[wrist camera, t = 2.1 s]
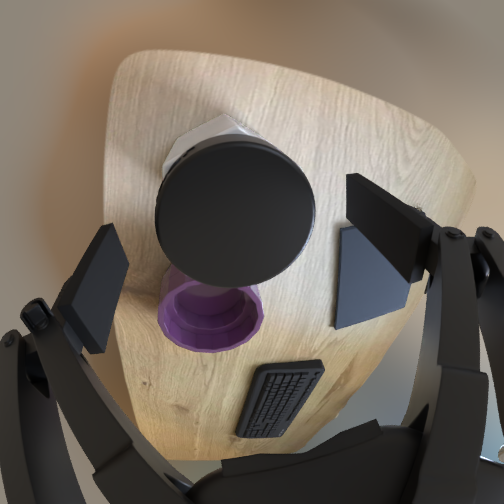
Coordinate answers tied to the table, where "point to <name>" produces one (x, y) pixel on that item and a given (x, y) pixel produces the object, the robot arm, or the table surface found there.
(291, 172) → the jar
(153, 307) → the table surface
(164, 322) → the bowl
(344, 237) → the placemat
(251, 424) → the keyboard
